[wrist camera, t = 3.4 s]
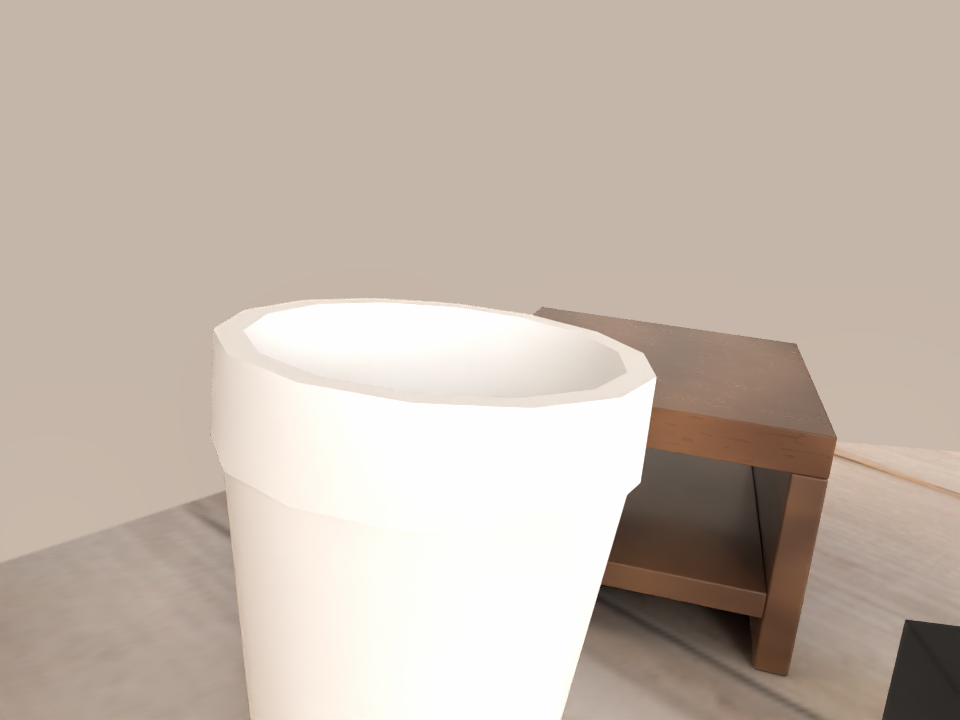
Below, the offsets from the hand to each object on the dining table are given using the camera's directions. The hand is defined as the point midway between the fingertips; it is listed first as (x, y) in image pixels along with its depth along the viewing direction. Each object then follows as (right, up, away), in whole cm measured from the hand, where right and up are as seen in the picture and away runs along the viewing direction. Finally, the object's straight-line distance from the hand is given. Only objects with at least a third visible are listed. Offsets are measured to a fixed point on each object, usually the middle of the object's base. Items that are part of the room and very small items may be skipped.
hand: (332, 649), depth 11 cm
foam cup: (0, -9, +12) cm, 15 cm away
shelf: (+8, -5, +30) cm, 32 cm away
